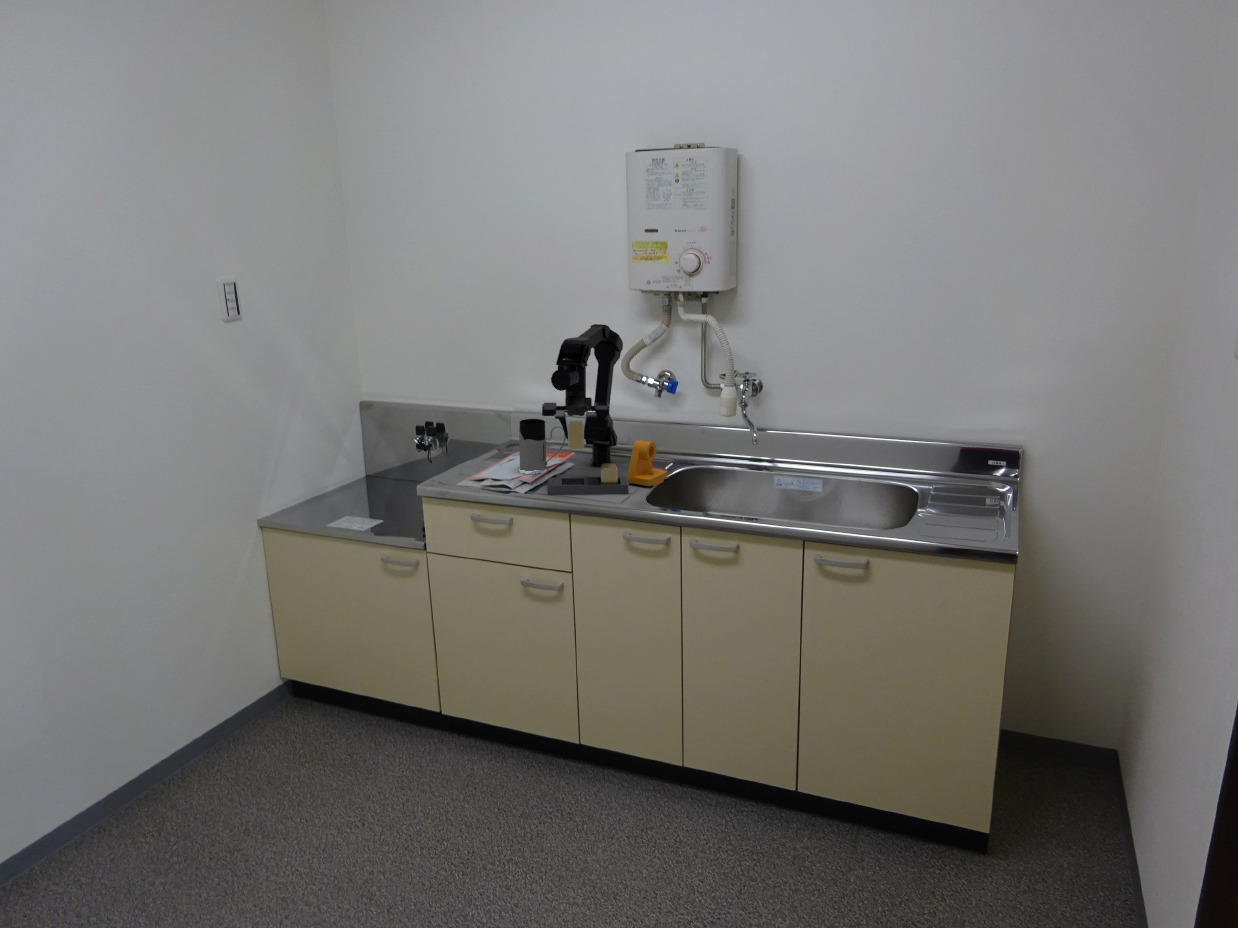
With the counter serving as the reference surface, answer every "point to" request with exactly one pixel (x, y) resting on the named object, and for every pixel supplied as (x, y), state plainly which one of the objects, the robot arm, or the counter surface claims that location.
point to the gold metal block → (575, 435)
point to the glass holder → (534, 444)
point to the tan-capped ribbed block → (609, 474)
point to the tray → (585, 486)
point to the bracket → (644, 465)
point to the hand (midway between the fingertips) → (575, 439)
